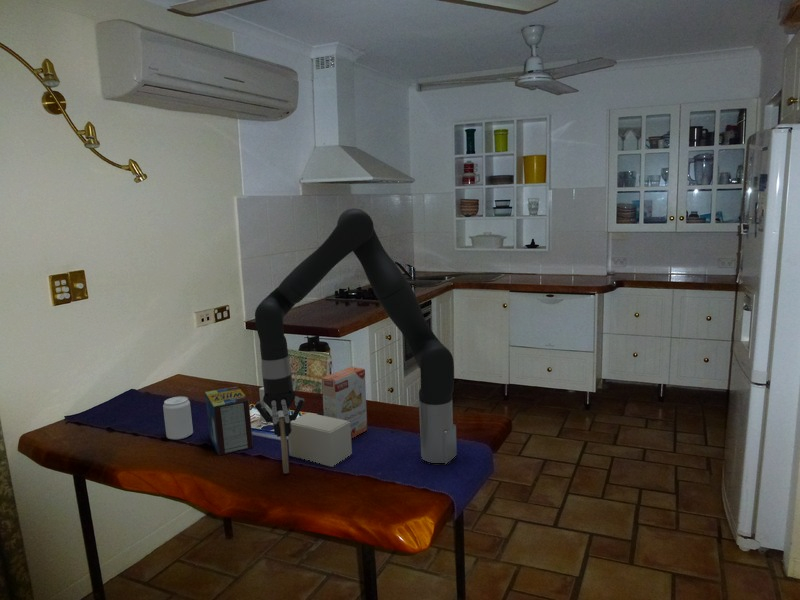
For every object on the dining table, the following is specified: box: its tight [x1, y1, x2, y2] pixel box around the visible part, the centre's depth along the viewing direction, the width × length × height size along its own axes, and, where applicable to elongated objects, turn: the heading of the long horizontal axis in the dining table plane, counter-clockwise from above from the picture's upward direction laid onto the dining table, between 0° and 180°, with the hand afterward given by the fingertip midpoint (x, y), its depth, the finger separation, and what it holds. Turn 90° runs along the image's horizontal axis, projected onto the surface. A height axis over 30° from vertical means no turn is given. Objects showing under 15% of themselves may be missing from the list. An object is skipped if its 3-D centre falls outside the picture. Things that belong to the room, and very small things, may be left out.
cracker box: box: [321, 366, 368, 440], centre depth 184 cm, size 14×6×21 cm, turn 143°
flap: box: [279, 417, 290, 475], centre depth 166 cm, size 11×2×16 cm, turn 10°
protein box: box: [204, 386, 254, 456], centre depth 184 cm, size 10×15×16 cm
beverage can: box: [162, 396, 194, 440], centre depth 191 cm, size 8×8×12 cm
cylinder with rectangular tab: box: [258, 386, 284, 423], centre depth 203 cm, size 9×9×12 cm
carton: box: [287, 412, 353, 468], centre depth 173 cm, size 16×9×10 cm, turn 58°
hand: (283, 435), depth 161 cm, fingers closed on flap, 2 cm apart
